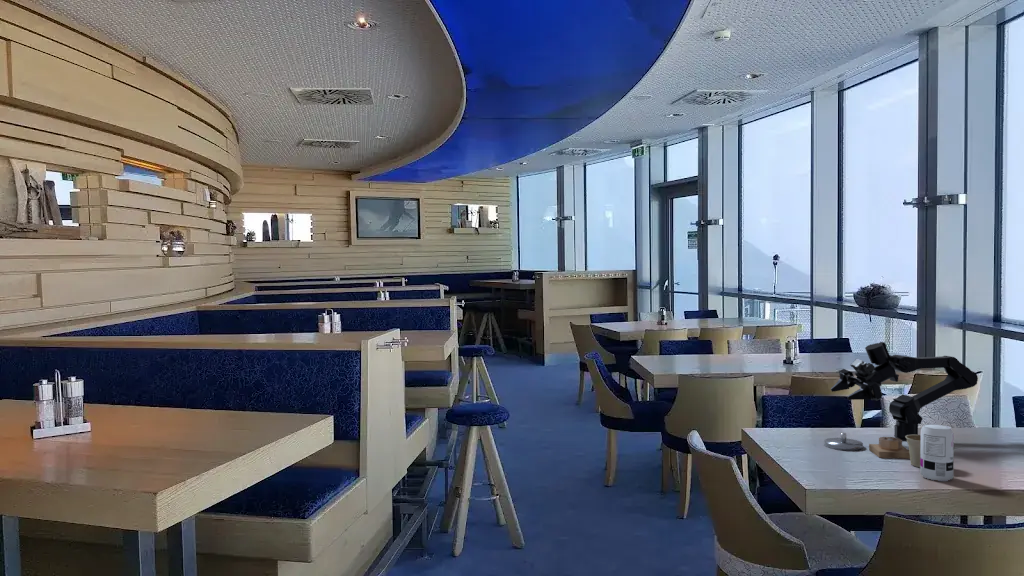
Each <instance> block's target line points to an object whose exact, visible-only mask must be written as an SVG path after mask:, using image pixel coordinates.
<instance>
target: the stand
mask: <svg viewBox="0 0 1024 576" xmlns="http://www.w3.org/2000/svg"><path fill="white" fill-rule="evenodd" d="M888 440H893V439H888ZM868 450H869V452H871V453H872V454H874V455H875V456H876V457H878V458H879V459H880V458H881V459H904V460H906V459H910V453H909V448H907V447H906V446H904V445H902V450H899V451H891V450H885V449H881V448H880V447H879V443H878V444H877V443H869V444H868Z"/></svg>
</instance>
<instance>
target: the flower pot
mask: <svg viewBox="0 0 1024 576" xmlns="http://www.w3.org/2000/svg"><path fill="white" fill-rule="evenodd" d="M905 438H906V439H907V440H906V442H907V445H908V450H909V453H910V465H911V466H913V467H916V468H920V449H921V434H918V435H907V436H905Z"/></svg>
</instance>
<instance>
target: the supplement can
mask: <svg viewBox="0 0 1024 576" xmlns="http://www.w3.org/2000/svg"><path fill="white" fill-rule="evenodd" d="M954 434H955V433H954V432H953V429H952V427H951V426H948V425H945V424H940V423H939V424H938V423H925V424H922V427H921V428H920V435H921V449H920V467H919V469H920V475H921V476H922V477H923V478H924V479H926V478H927V479H926V480H929V479H931V480H930V481H934V480H938V481H937V482H949V481H948V480H950V479H951V480H952V479H953V478H954V460H955V459H954V449H955V447H954V446H955V445H954V443H955V442H954V439H955V438H954ZM951 480H950V481H951Z"/></svg>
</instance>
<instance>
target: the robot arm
mask: <svg viewBox="0 0 1024 576" xmlns="http://www.w3.org/2000/svg"><path fill="white" fill-rule="evenodd" d="M864 349H865V351H866V354H867V357H868V359H869V361H870V362H868V363H867V362H865V361H864V360H861V359H859V358H855V359H854V361H852V362H851V363H850V365H849V366H850V367H852V368H853V369H854V371H855V372H854V373H853V372H852V371H850V370H848V369H846V368H843V369H841V370H838V373H839V375H838V376H839V379H838V380H837V382H836V383H835V384H833V386H832V387H831V388H830V391H831V392H832V393H833V392H840V391H844V390H849V389H850V388H854V387H855V386H858V387H859V389H857V390H855V391H854V392H851V394H849V395H848V396H847V400H850V401H852V400H853V401H855V400H856V401H857V400H861V401H863V400H864V401H865V400H869V401H870V400H871V401H876V402H877V401H879V400H881V399H882V397H883V392H882V389H881V386H883V385H882V383H884V382H886V381H888V380H889V381H891V382H895V383H896V382H899V376H900V375H899V374H897V372H899V373H903V374H906V373H908V374H909V373H911V372H915V371H918V370H921V369H922V370H923V369H939V368H940V369H941V368H943V369H944V372H945V373H946V374H947V375H946V377H945V379H944V380H942V381H940V382H938V383H936V384H934V385H931V386H930V387H928V388H926V389H924V390H922V391H920V392H917V394H915V395H912V396H910V395H907V394H901V395H899V396H898V397H895V398H892V399H893V400H892V401H891V402H890V403H889V407H888V410H889V413H890V414H891V415H892V416H891V417H892V418H893V420H895V424H894V434H893V436H894V438H899V439H901V440H902V441H907V439H906V438H905V436H907V435H919V425H921V424H922V422H923V417H922V416H921V415H920V414H919V413H920V411H921V409H922V408H924V407H925V406H927V405H929V404H932V403H933V402H935V401H937V400H939V399H941V398H943V397H945V396H947V395H948V394H951V393H953V392H955V391H961V390H966V389H967V390H968V389H970V388H973V387H975V386H977V384H978V381H979V380H978V379H979V377H978V375H977V373H976V372H975V371H973V370H971V369H970V368H969V367H968V366H966V365H965V364H963V363H962V362H961V361H960V360H958V358H956V357H955V356H950V355H943V356H922V357H913V356H907V355H901V354H900V355H899V354H893V355H890V353H889V351H888V348H887V344H886V342H885V341H880V342H877V343H871V344H868V345H866V346H865V347H864ZM854 374H855V376H856V377H855V376H854Z"/></svg>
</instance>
